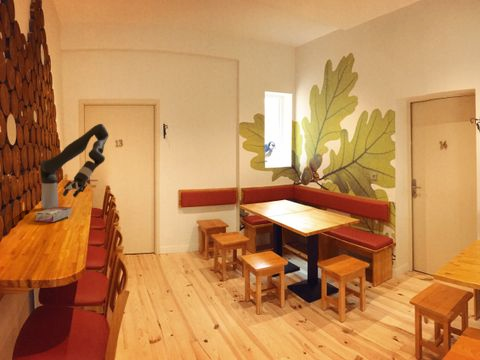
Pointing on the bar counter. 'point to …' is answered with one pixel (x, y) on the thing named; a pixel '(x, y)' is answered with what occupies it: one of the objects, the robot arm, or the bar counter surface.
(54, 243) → the bar counter surface
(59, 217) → the candy bar box
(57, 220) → the mat
